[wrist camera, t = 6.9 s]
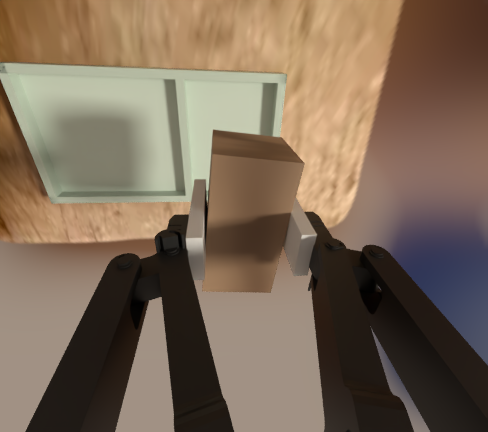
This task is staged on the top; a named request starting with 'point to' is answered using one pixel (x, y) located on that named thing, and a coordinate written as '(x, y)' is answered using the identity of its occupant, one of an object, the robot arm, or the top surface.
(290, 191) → the brown rectangular block
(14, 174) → the top surface
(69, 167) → the jig
